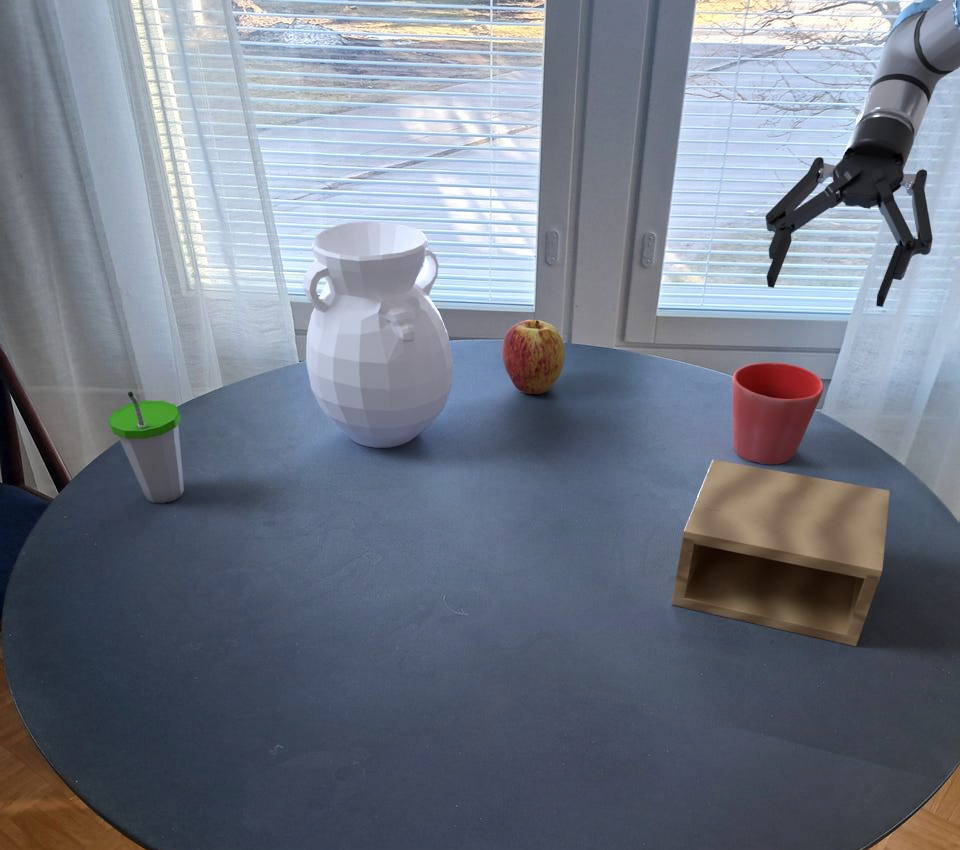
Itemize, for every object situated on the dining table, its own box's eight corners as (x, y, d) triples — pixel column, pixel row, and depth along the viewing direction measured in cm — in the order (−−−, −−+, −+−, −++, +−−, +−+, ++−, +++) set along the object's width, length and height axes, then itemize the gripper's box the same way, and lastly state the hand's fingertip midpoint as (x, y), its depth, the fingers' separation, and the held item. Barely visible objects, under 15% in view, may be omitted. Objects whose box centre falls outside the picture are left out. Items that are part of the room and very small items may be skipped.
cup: (156, 473, 113) (125, 357, 103) (210, 483, 111) (183, 367, 101) (117, 504, 107) (81, 385, 98) (173, 515, 105) (141, 395, 96)
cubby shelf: (866, 563, 97) (890, 490, 92) (856, 646, 87) (882, 570, 81) (700, 529, 103) (712, 459, 97) (671, 605, 92) (683, 531, 86)
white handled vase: (350, 480, 111) (327, 272, 95) (295, 421, 124) (266, 229, 108) (480, 443, 119) (479, 244, 103) (415, 391, 131) (406, 206, 115)
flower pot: (752, 478, 111) (768, 405, 105) (705, 439, 119) (717, 369, 113) (823, 462, 114) (843, 390, 108) (772, 425, 122) (788, 356, 116)
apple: (495, 379, 134) (495, 312, 127) (553, 373, 136) (556, 306, 129) (511, 405, 127) (512, 335, 121) (572, 398, 129) (576, 329, 122)
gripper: (987, 164, 111) (926, 324, 111) (786, 142, 121) (730, 289, 121) (997, 123, 104) (931, 294, 104) (783, 103, 114) (723, 259, 114)
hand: (823, 291), depth 113 cm, fingers open, 13 cm apart
